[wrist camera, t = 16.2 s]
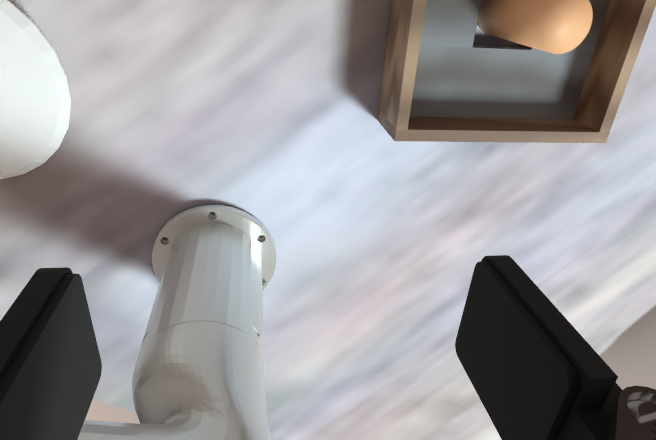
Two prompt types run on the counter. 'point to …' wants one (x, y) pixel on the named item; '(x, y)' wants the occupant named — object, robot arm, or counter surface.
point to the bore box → (504, 77)
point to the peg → (538, 22)
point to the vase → (29, 94)
